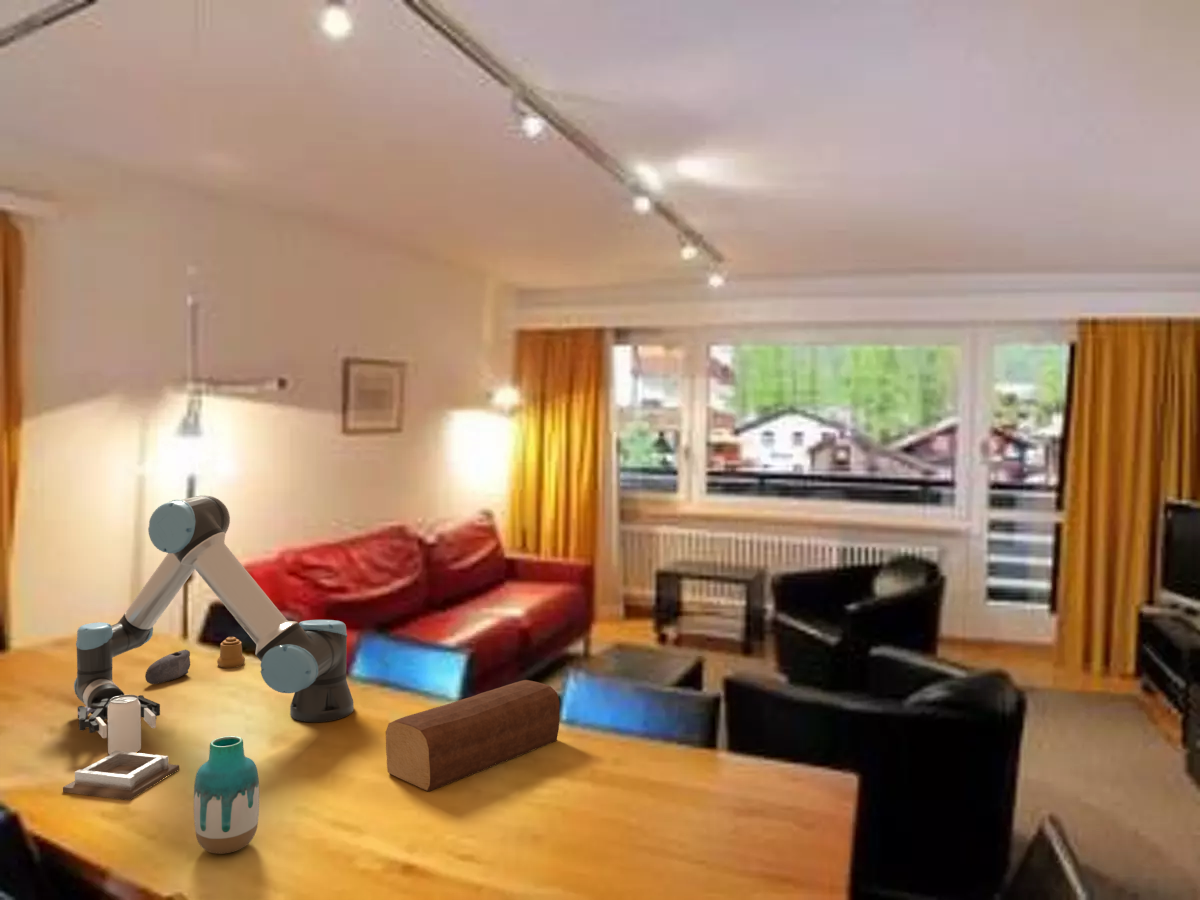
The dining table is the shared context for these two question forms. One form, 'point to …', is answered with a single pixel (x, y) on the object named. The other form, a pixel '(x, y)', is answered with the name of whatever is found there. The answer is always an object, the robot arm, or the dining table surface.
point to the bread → (472, 734)
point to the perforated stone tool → (168, 667)
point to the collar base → (118, 792)
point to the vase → (226, 798)
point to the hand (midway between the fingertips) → (129, 726)
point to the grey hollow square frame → (100, 778)
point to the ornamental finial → (231, 653)
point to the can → (124, 724)
